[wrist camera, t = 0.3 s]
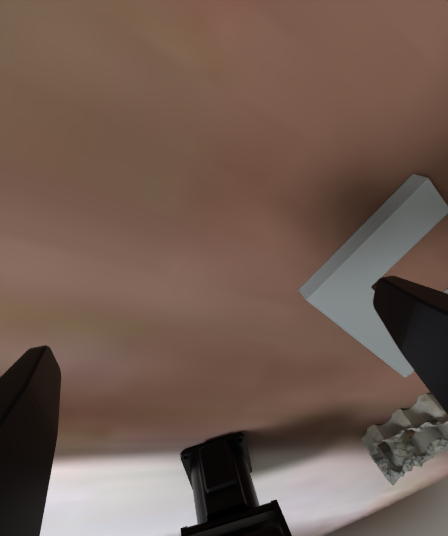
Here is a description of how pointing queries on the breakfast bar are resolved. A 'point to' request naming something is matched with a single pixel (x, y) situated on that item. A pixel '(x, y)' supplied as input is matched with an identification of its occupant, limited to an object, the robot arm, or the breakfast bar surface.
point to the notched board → (375, 266)
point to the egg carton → (409, 449)
